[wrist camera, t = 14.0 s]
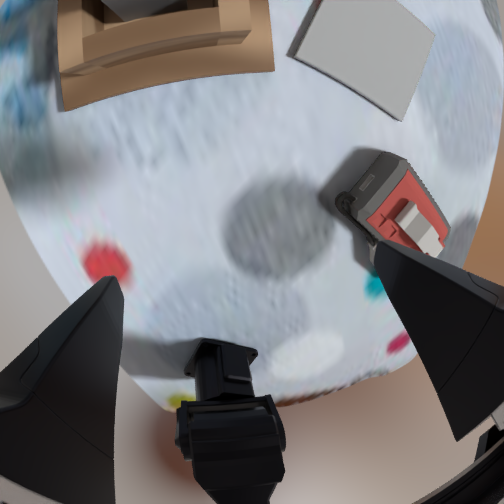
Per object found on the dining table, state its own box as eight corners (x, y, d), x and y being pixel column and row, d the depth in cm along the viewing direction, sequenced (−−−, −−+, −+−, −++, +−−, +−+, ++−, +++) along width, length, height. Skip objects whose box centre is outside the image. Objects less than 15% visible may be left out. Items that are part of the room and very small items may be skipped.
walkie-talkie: (311, 215, 23) (412, 299, 31) (333, 241, 19) (430, 322, 27) (377, 135, 20) (456, 249, 28) (410, 147, 16) (478, 268, 25)
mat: (398, 120, 19) (402, 121, 18) (293, 57, 15) (295, 56, 15) (431, 35, 14) (435, 34, 14) (339, -34, 11) (342, -36, 11)
